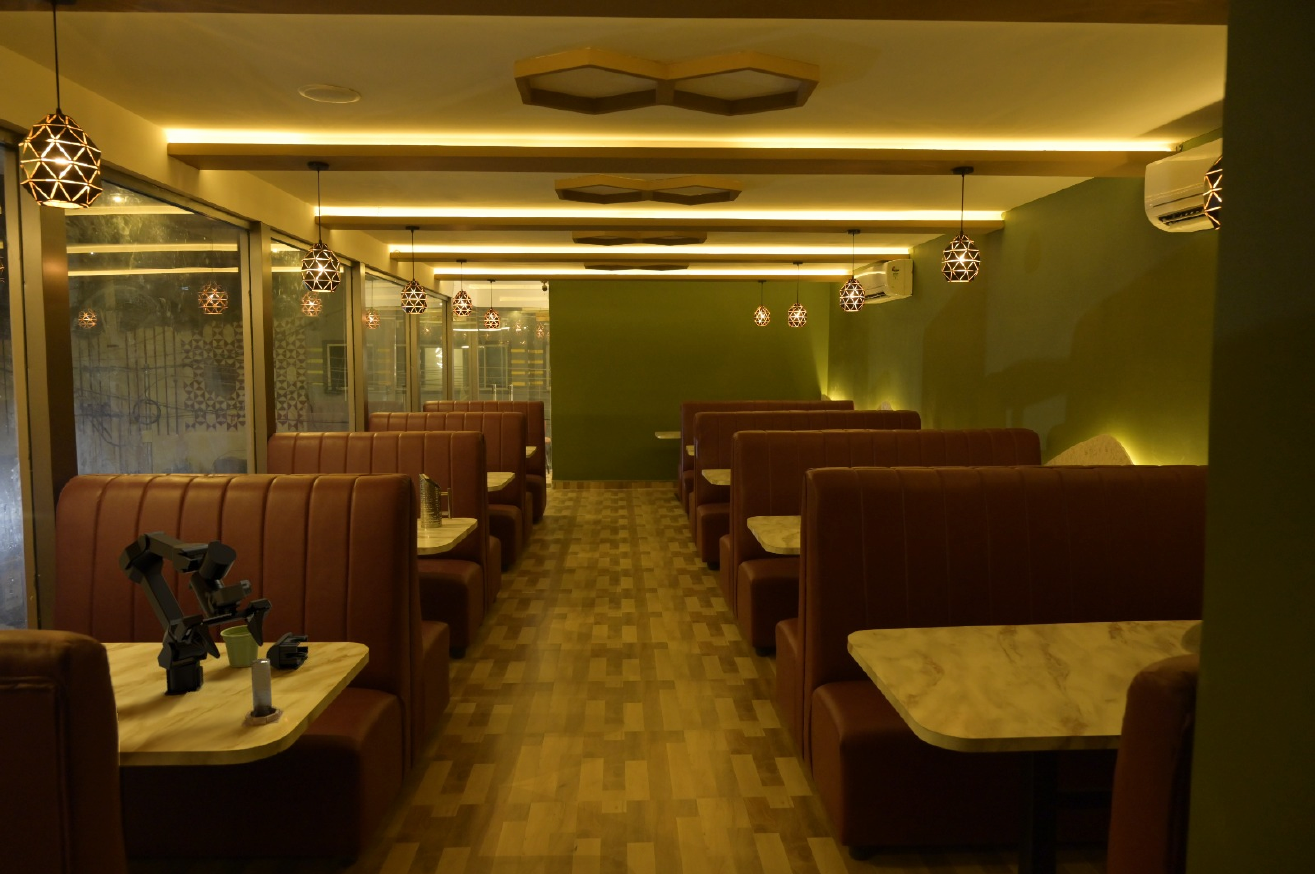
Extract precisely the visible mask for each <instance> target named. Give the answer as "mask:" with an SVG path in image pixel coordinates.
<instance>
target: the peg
mask: <svg viewBox="0 0 1315 874" xmlns="http://www.w3.org/2000/svg"><path fill="white" fill-rule="evenodd" d="M250 669H251V687H252V710H253V714H254V718H257V717H266V716H269V715H271V714H272V706H273V701H272V699H273V698H272V697H273V696H272V678H271V666H270V659H266V657H265V658H257V660H254V661H252V662H251V667H250Z"/></svg>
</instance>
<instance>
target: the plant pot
mask: <svg viewBox="0 0 1315 874" xmlns="http://www.w3.org/2000/svg"><path fill="white" fill-rule="evenodd" d="M247 625H248V624H246V625H238V626H233V627H229V628H226V629H224V630H222V631H221V632H220V636H221V637H222V639H223V642H224V645H225V649H226V653H227V658H228V663H229V666H230V667H231V668H235V669H238V668H239V667H242V668H247V667H250V666H251V662H252V661H254V660H257V659H258V655H259V654H258V653H259V647H260V646H259V645H258V644H257V643H256V641H255V640H254V638H253V637H252V635H251V633H250V632H249V630H248V629H247ZM262 630H263V626H262Z"/></svg>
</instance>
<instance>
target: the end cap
mask: <svg viewBox="0 0 1315 874" xmlns="http://www.w3.org/2000/svg"><path fill="white" fill-rule="evenodd" d="M308 641H309V636H308V635H307V634H298V635H296V634H295V635H293V632H292V631H291V632H290V631H289V632H286V633H285V634H283V635H282V636H281V637H280V638H279V639H277V641H275V642H274V643H273V644H272V645H271V646H270V647H269V648H268V649H267V651H266V654H265V658H266V659H270V667H271V668H274V669H275V670H277V671H280V670H282V671H295V670H296V671H297V670H298V669H299V668H301V667H302V665H304V663H305V662H306V661H307V660H308V659H307V658H309V656H308V653H309V645H305V646H299V645H300V644H301V643H306V642H307V643H308ZM305 660H306V661H305ZM304 661H305V662H304Z"/></svg>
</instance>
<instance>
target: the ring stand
mask: <svg viewBox="0 0 1315 874" xmlns="http://www.w3.org/2000/svg"><path fill="white" fill-rule="evenodd" d="M284 711H285V710H284V709H283V710H281V708H280V707H277V706H274V705H272V714H271V715H269V716H266V717H257V718H254V714H253V709H251V710H249V711H247V712H246V713H245V715H244V719H245V720H244V722H242V725H241V727H248V726H257V725H258V726H259V725H269V724H278V723H279V721H280V720H281V717H282V715H283V713H284Z"/></svg>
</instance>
